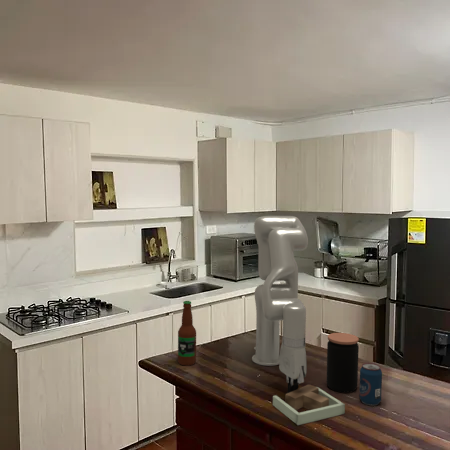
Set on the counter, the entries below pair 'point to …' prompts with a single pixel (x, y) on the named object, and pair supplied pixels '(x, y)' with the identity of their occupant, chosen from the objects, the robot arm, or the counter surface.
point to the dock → (311, 415)
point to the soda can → (370, 384)
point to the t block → (306, 398)
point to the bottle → (187, 337)
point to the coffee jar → (342, 362)
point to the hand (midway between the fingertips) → (292, 395)
